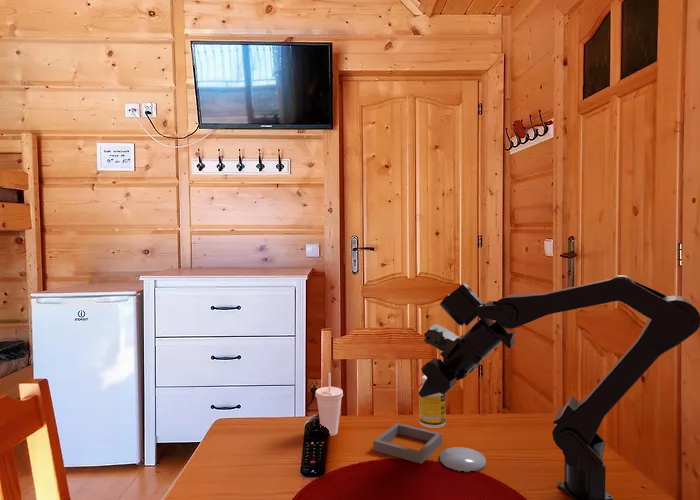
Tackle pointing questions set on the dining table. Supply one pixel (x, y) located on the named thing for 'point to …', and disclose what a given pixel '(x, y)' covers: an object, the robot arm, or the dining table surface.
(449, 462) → the coaster
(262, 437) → the dining table surface
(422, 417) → the supplement bottle
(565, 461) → the robot arm
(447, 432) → the dining table surface
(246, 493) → the dining table surface
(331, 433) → the smoothie
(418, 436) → the frame
